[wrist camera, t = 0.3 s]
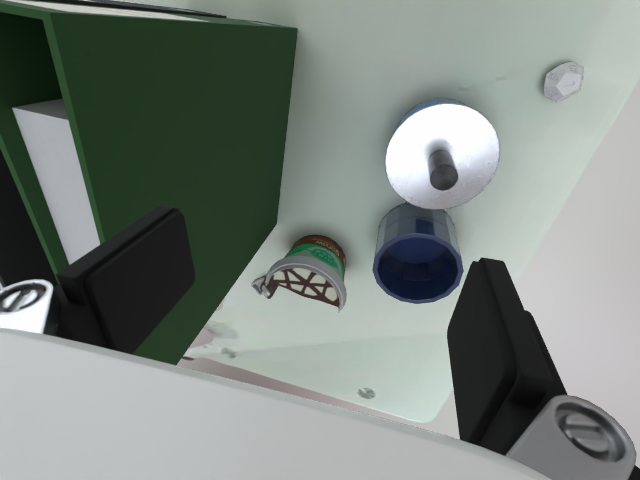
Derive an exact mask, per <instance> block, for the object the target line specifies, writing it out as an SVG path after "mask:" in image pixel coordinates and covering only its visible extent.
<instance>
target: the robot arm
mask: <svg viewBox="0 0 640 480" xmlns="http://www.w3.org/2000/svg"><path fill="white" fill-rule="evenodd" d="M55 275H56V277H57V279H58V281H59V283H60V284H59V285H58V286H56V287H55V288H54V286H53V285H52V284H51V283H50V282H49V281H46V280H39V279H34V280H26V281H22V282H18V283H14V284H12V285H9V286H7V287H4V288H3V289H1V290H0V480H640V469H639V468H638V467H637V466H636V465H635V462H636V451H635V448H634V444H633V442H632V440H631V439H630V437H629V436H628V434H627V432H626V431H625V429H624V428H623V427H622V426H621V425H620V424H619V423H618V422H617V421H616V420H615V419H614V418H613V417H612V416H610V415H609V414H608V413H607V412H605V411H604V410H603V409H601V408H600V407H598V406H596V405H595V404H593V403H591V402H589V401H587V400H584V399H582V398H579V397H575V396H569V395H567V393H566V390H565V388H564V386H563V383H562V381H561V379H560V377H559V375H558V372H557V370H556V368H555V365H554V363H553V361H552V359H551V356H550V354H549V352H548V350H547V347H546V345H545V343H544V341H543V338H542V336H541V334H540V331H539V329H538V327H537V325H536V323H535V320H534V318H533V316H532V315H531V313H530V312H528V311H525V310H524V308H523V305H522V303H521V301H520V298H519V296H518V294H517V291H516V289H515V287H514V284H513V282H512V279H511V277H510V275H509V272H508V270H507V268H506V265H505V263H504V262H503V261H500V260H494V259H488V258H481V259H480V260H479V262H476V261H473V262H472V264H471V266H470V269H469V271H468V274H467V277H466V280H465V282H464V285H463V288H462V290H461V293H460V296H459V299H458V301H457V304H456V307H455V310H454V312H453V315H452V318H451V320H450V323H449V326H448V331H447V339H448V347H449V355H450V363H451V371H452V379H453V387H454V395H455V403H456V411H457V418H458V427H459V435H460V440H458V439H455V438H452V437H449V436H446V435H442V434H439V433H435V432H432V431H428V430H424V429H421V428H417V427H413V426H410V425H406V424H402V423H399V422H395V421H391V420H388V419H384V418H381V417H377V416H373V415H369V414H365V413H361V412H357V411H354V410H350V409H346V408H342V407H338V406H334V405H330V404H326V403H322V402H319V401H315V400H311V399H307V398H303V397H299V396H295V395H291V394H287V393H284V392H280V391H276V390H272V389H267V388H263V387H260V386H256V385H252V384H247V383H244V382H240V381H236V380H231V379H228V378H224V377H220V376H216V375H212V374H208V373H204V372H200V371H196V370H192V369H188V368H184V367H180V366H176V365H172V364H168V363H164V362H160V361H156V360H152V359H148V358H143V357H139V356H135V355H132V354H133V353H134V352H135V351H136V350H137V349H138V347H139V346H140V345H141V344H142V343H143V342H144V341H145V339H146V338H147V337H148V336H149V335H150V334H151V333H152V331H153V330H154V329H155V328H156V327H157V326H158V325H159V323H160V322H161V321H162V320H163V319H164V318H165V317H166V316H167V314H168V313H169V312H170V311H171V310H172V309H173V308H174V306H175V305H176V304H177V303H178V302H179V301H180V300H181V298H182V297H183V296H184V295H185V294H186V293H187V292H188V290H189V289H190V288H191V287H192V286H193V284H194V282H195V278H196V275H195V270H194V264H193V259H192V254H191V249H190V243H189V238H188V233H187V228H186V222H185V217H184V215H183V214H182V213H181V212H180V210H179V209H178V208H174V207H168V206H161V205H160V206H157V207H156V208H154V209H153V210H151V211H150V212H148V213H147V214H145V215H144V216H142V217H141V218H139V219H138V220H136V221H135V222H133V223H132V224H130V225H129V226H127V227H126V228H124V229H123V230H121V231H120V232H118V233H117V234H115V235H114V236H112V237H111V238H109V239H108V240H106V241H105V242H103V243H102V244H100V245H99V246H97V247H96V248H94V249H93V250H91V251H90V252H88V253H87V254H85V255H84V256H82V257H81V258H79V259H78V260H76V261H75V262H73V263H72V264H70V265H69V266H67V267H66V268H64V269H63V270H61V271H60V272H58V273H57V274H55Z"/></svg>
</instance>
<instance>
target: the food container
mask: <svg viewBox="0 0 640 480" xmlns="http://www.w3.org/2000/svg"><path fill="white" fill-rule="evenodd" d="M345 265H346V263H345V255H344V253H343V251H342V249H341V248H340V246H339V245H338V244H337V243H336V242H335V241H333V240H331V239H330V238H328V237H325V236H322V235H308V236H305V237H303V238H301V239H300V240H298V241H297V242H296V244H295V245H294V246H293V247H292V249H291V250H290V251H289V252H288V254H287V255H286V256H285V257H284V258H283V259H281V260H279V261H277V262H276V263H275V264H274V265H273V266H272V267H271V268H270V270H269V272H268V274H267V278H266V281H265V283H266V285H267V284H268V283H269V282H270V283H272V284H275V285H279V286H282V287H284V288H287V289H289V290H291V291H293V292H295V293H297V294H299V295H301V296H304V297H307V298H311V299H316V300H320V301H323V302H326V303H328V304H331V305H334V306H337V307H339V311H340V310H342V308H343V307H344V305H345V302H346V295H347V294H346V288H345V285H344V274H345ZM266 285H265V286H266ZM338 313H339V312H338Z"/></svg>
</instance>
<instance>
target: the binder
mask: <svg viewBox="0 0 640 480" xmlns="http://www.w3.org/2000/svg"><path fill="white" fill-rule="evenodd" d="M297 30H298V28H292V27H286V26H280V25H274V24H269V23H263V22H257V21H247V20H236V19H226V16H222V15H216V14H210V13H204V12H199V11H193V10H187V9H178V8H170V7H161V6H153V5H144V4H136V3H128V2H119V1H111V0H0V290H1V289H3V288H4V287H7V286H9V285H12V284H14V283H18V282H22V281H26V280H34V279H39V280H46V281H49V282H50V283H51V284H52V285H53V286H54V288H55V287H56V286H58V285H59V284H60V283H59V281H58V279H57V277H56V275H55V274H57V273H58V272H60V271H61V270H63V269H64V268H66V267H67V266H69V265H70V264H72V263H73V262H75V261H76V260H78V259H79V258H81V257H82V256H84V255H85V254H87V253H88V252H90V251H91V250H93V249H94V248H96V247H97V246H99V245H100V244H102V243H103V242H105V241H106V240H108V239H109V238H111V237H112V236H114V235H115V234H117V233H118V232H120V231H121V230H123V229H124V228H126V227H127V226H129V225H130V224H132V223H133V222H135V221H136V220H138V219H139V218H141V217H142V216H144V215H145V214H147V213H148V212H150V211H151V210H153V209H154V208H156V207H157V206H160V205H161V206H168V207H174V208H178V209H179V210H180V212H181V213H182V214H183V215H184V217H185V222H186V228H187V233H188V238H189V243H190V249H191V254H192V259H193V264H194V270H195V275H196V278H195V282H194V284H193V286H192V287H191V288H190V289H189V290H188V292H187V293H186V294H185V295H184V296H183V297H182V298H181V300H180V301H179V302H178V303H177V304H176V305H175V306H174V308H173V309H172V310H171V311H170V312H169V313H168V314H167V316H166V317H165V318H164V319H163V320H162V321H161V322H160V323H159V325H158V326H157V327H156V328H155V329H154V330H153V331H152V333H151V334H150V335H149V336H148V337H147V338H146V339H145V341H144V342H143V343H142V344H141V345H140V346H139V347H138V349H137V350H136V351H135V352H134V353H133V354H132V355H135V356H139V357H143V358H148V359H152V360H156V361H160V362H164V363H168V364H172V365H177V363H178V362H179V361H180V359H181V358H182V356H183V355H184V354H185V352H186V351H187V349H188V348H189V347H190V345H191V344H192V342H193V341H194V339H195V338H196V337H197V335H198V334H199V332H200V331H201V330H202V328H203V327H204V325H205V324H206V323H207V321H208V320H209V318H210V317H211V316H212V314H213V313H214V311H215V310H216V309H217V307H218V306H219V304H220V303H221V302H222V300H223V299H224V297H225V296H226V294H227V293H228V292H229V290H230V289H231V287H232V286H233V285H234V283H235V282H236V280H237V279H238V278H239V276H240V275H241V273H242V272H243V271H244V269H245V268H246V266H247V265H248V264H249V262H250V261H251V259H252V258H253V256H254V255H255V254H256V252H257V251H258V249H259V248H260V247H261V245H262V244H263V242H264V241H265V240H266V238H267V237H268V235H269V234H270V233H271V231H272V230H273V228H274V227H275V226H276V224H277V214H278V205H279V196H280V187H281V177H282V168H283V159H284V150H285V141H286V131H287V122H288V113H289V104H290V95H291V85H292V76H293V67H294V58H295V48H296V39H297Z"/></svg>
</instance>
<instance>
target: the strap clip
mask: <svg viewBox="0 0 640 480" xmlns="http://www.w3.org/2000/svg"><path fill="white" fill-rule="evenodd" d="M266 278H267V277H266V276H263V277H261V278H259V279H257V280H255V281H254V282H253V283H252V285H251V286H252V287H253V288H254V289H255V290H256V291H257V292H258V293H259V294H260V295H262V294H264V296H265V297H266V298H267V299H270V298H271V297H272V296H273V294H274V293H275V291H276V289H277V287H278V285H275V284H272V283H270V282H269V283H268V284H267V285H266V283H265V281H266ZM255 284H256V285H257V286H258V287H259V288H258V287H257V286H256V285H255ZM265 285H266V286H265ZM267 292H269V293H270V295H269V296H268V295H267V294H266V293H267Z"/></svg>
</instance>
